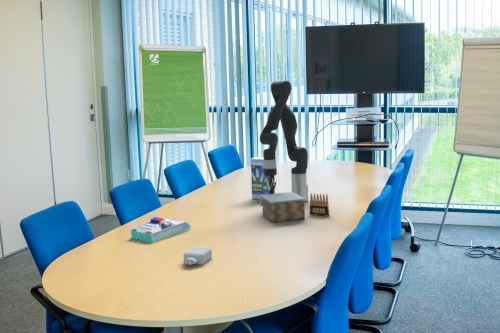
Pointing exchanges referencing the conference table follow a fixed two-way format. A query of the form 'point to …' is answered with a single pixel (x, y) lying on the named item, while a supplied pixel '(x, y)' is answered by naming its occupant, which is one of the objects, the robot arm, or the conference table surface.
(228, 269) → the conference table surface
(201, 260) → the charger
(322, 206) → the ammunition clip
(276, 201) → the box lid
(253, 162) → the string lights box
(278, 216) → the walnut box
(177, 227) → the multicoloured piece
